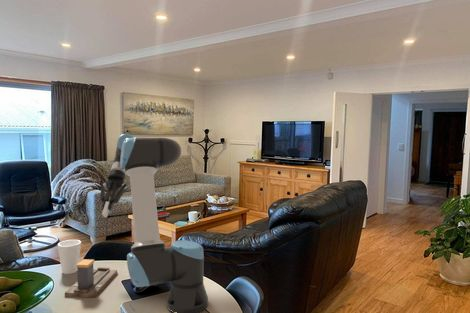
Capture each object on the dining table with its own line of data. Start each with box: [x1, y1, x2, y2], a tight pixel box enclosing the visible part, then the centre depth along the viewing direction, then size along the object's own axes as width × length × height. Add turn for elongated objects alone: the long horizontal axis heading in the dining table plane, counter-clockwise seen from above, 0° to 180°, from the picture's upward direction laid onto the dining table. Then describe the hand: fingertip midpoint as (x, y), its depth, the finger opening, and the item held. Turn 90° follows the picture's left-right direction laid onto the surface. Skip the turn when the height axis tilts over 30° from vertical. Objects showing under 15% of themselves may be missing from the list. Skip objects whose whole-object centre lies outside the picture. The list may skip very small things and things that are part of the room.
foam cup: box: [57, 239, 82, 275], centre depth 155 cm, size 10×9×13 cm
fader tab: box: [76, 258, 95, 290], centre depth 136 cm, size 5×6×10 cm
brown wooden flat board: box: [64, 266, 118, 298], centre depth 142 cm, size 12×22×2 cm, turn 178°
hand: (104, 215), depth 153 cm, fingers closed
